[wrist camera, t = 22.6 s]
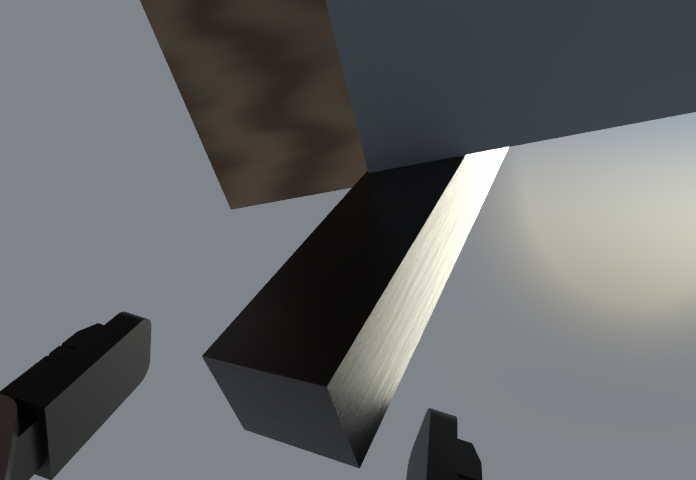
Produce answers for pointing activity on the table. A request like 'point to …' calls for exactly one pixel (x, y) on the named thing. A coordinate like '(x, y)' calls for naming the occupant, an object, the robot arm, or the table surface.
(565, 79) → the grey rectangular box
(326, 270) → the lever bar
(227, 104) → the upright wooden block
